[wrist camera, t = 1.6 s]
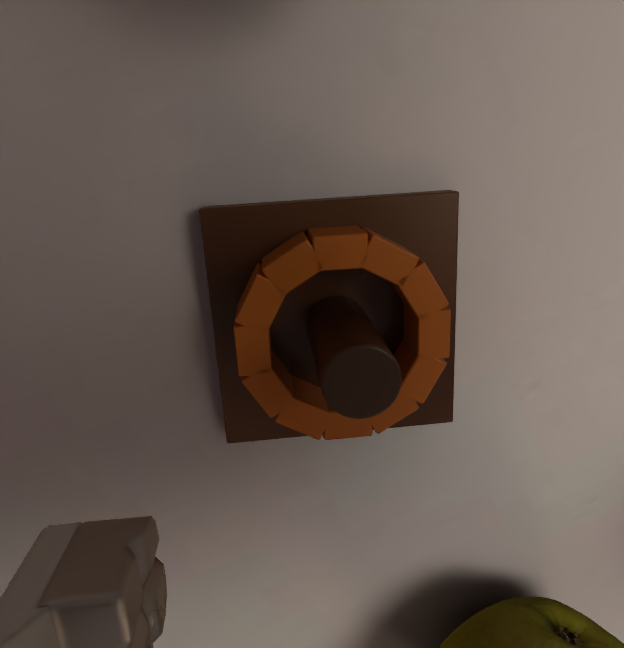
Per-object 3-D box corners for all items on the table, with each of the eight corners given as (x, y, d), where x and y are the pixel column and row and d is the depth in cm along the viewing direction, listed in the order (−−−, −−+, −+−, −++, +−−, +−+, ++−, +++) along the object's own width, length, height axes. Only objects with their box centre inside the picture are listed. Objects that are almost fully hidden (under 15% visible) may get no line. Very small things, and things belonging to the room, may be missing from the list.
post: (201, 206, 17) (172, 229, 11) (450, 189, 17) (533, 204, 12) (228, 432, 19) (215, 537, 14) (445, 412, 20) (512, 505, 14)
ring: (227, 233, 16) (223, 243, 14) (434, 219, 17) (453, 226, 15) (248, 421, 18) (246, 449, 16) (431, 404, 19) (448, 429, 17)
